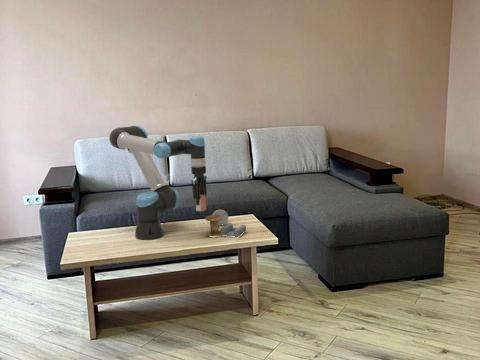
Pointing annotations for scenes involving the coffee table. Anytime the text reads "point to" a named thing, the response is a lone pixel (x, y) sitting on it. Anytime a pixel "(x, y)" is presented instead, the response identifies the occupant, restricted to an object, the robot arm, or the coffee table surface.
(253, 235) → the coffee table surface
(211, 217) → the spool
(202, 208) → the salmon pink block
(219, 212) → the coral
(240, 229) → the notched board
